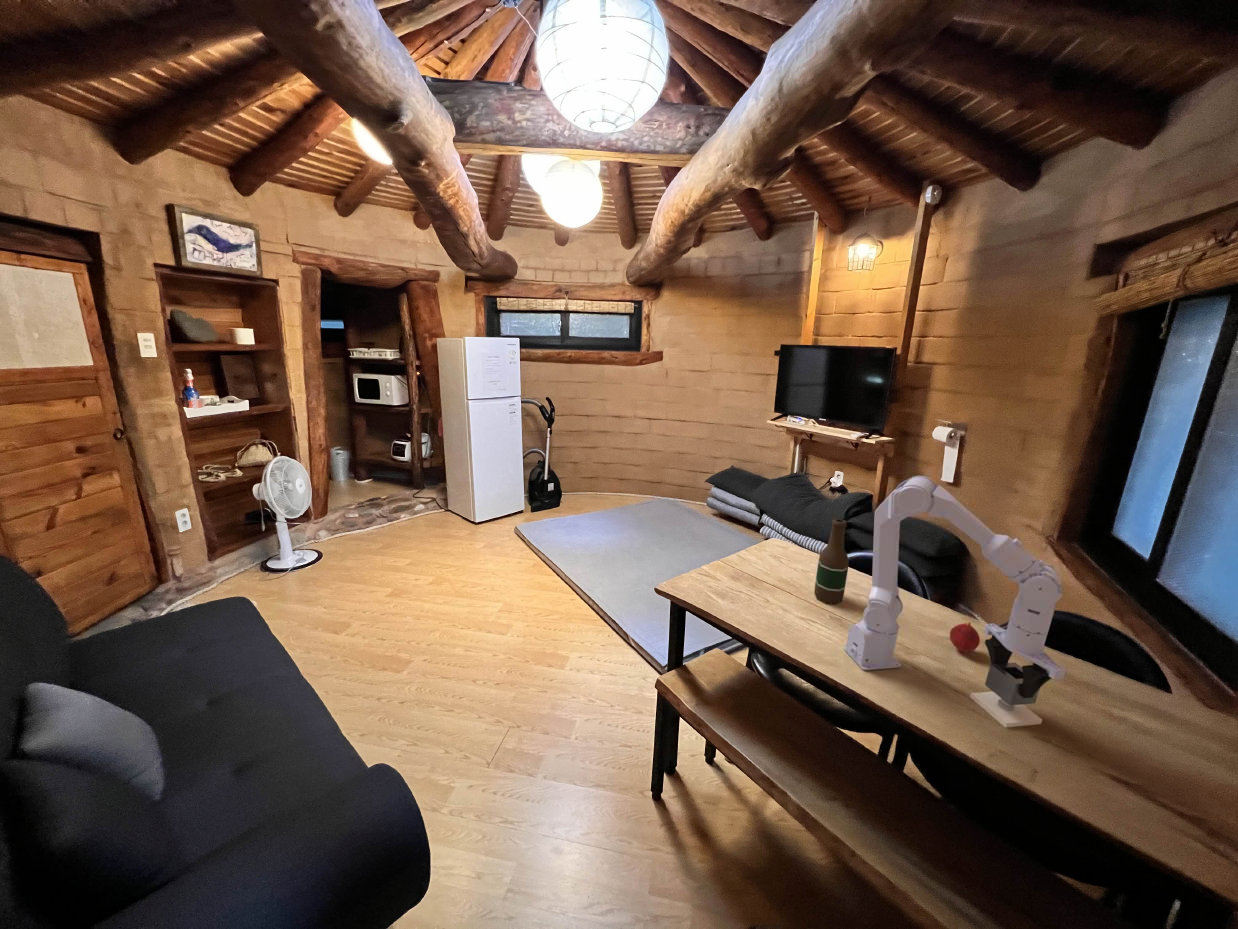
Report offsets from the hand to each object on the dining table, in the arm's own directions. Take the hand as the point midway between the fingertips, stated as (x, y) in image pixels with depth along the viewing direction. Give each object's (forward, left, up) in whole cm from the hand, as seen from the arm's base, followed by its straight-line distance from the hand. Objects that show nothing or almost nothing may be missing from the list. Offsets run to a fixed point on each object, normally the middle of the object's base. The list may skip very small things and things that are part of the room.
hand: (1011, 685), depth 94 cm
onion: (+7, +18, -6) cm, 20 cm away
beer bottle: (-12, +44, -6) cm, 46 cm away
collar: (0, 0, -2) cm, 2 cm away
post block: (0, 0, -6) cm, 6 cm away
